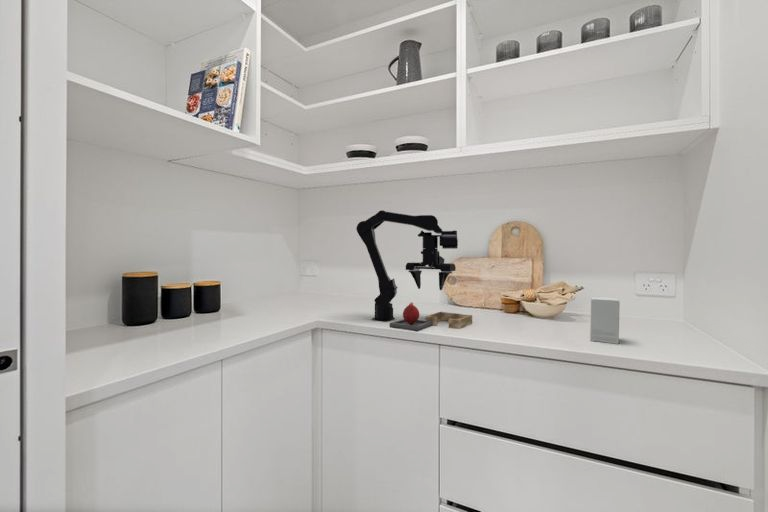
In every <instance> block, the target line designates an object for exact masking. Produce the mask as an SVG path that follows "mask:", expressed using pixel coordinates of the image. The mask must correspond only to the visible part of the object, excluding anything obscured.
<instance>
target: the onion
mask: <svg viewBox="0 0 768 512" xmlns="http://www.w3.org/2000/svg"><path fill="white" fill-rule="evenodd" d="M419 317H420V311H419V309H418V307H417V306H415V305H414V302H409V304H408V305H407V306H406V307H405V308H404V309H403V311H402V318H403V319H404V320H405V321H406V322H407V323H408V324H410V325H413V324H414V323H415V322H416V321H417V320H419Z"/></svg>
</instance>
